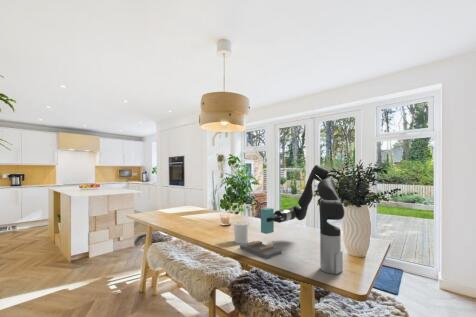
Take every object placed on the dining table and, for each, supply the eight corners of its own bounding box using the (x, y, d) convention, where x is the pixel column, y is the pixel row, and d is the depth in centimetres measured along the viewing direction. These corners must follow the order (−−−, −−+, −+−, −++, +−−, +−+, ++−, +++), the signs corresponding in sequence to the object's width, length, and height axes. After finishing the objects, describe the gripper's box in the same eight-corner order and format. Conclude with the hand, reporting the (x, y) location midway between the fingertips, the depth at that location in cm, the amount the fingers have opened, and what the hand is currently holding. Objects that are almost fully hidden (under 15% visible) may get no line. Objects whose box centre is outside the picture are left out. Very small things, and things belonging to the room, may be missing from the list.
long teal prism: (273, 232, 148) (273, 208, 148) (266, 233, 144) (266, 209, 144) (268, 230, 151) (268, 207, 152) (260, 232, 147) (260, 208, 148)
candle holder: (231, 240, 163) (231, 222, 164) (245, 238, 167) (245, 221, 167) (236, 244, 154) (236, 225, 154) (251, 243, 158) (251, 224, 158)
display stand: (281, 253, 139) (281, 247, 139) (267, 259, 131) (267, 252, 131) (254, 244, 156) (254, 238, 156) (240, 248, 148) (240, 242, 148)
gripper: (274, 208, 162) (255, 211, 151) (291, 211, 152) (273, 215, 141) (274, 219, 162) (255, 223, 151) (291, 223, 151) (273, 228, 140)
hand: (264, 219), depth 146 cm, fingers closed on long teal prism, 4 cm apart
